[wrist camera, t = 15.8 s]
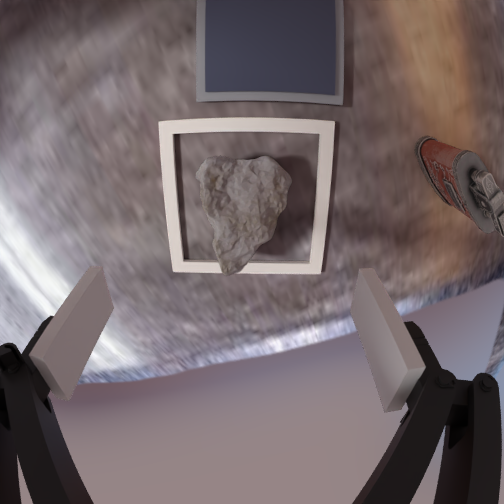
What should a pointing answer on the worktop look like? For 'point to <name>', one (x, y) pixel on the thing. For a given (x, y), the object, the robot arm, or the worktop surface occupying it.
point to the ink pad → (270, 50)
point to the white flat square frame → (248, 125)
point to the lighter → (462, 183)
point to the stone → (242, 205)
